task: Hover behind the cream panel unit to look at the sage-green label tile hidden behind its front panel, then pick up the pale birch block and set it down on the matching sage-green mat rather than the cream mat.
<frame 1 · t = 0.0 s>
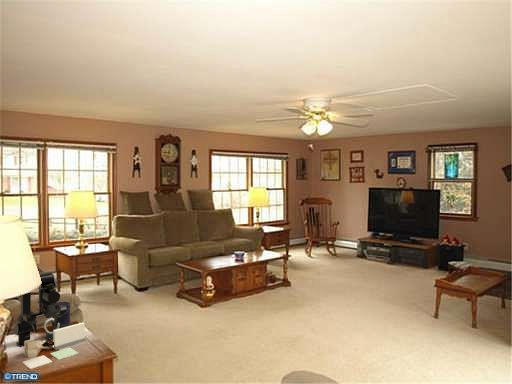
hand: (45, 330, 204), 15 cm above the table, tool pointing down, fingers open, 9 cm apart
sage mat: (64, 353, 211), on the table
watch: (51, 338, 231), on the table
cream mat: (37, 362, 202), on the table
panel unit: (66, 342, 226), on the table
storage jar: (61, 329, 244), on the table
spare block: (30, 355, 210), on the table
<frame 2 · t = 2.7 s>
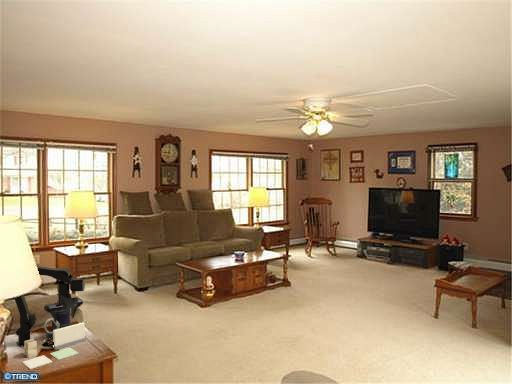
hand: (64, 320, 227), 12 cm above the table, tool pointing down, fingers open, 9 cm apart
nothing on the table moved.
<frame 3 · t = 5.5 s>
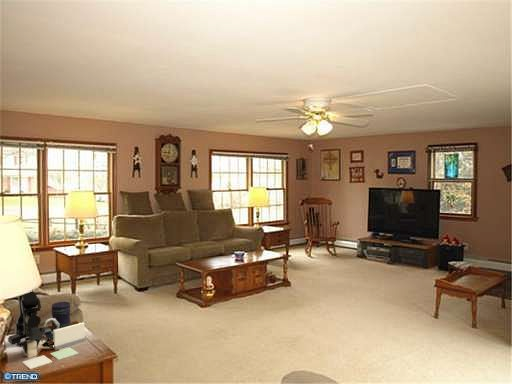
hand: (30, 351, 210), 2 cm above the table, tool pointing down, fingers closed on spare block, 4 cm apart
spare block: (30, 354, 210), on the table, touching gripper
everything else where it was.
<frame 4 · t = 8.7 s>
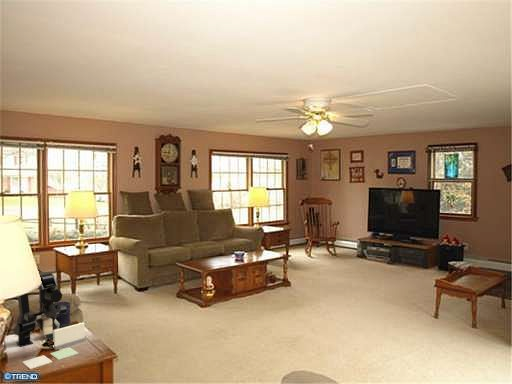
hand: (46, 329, 210), 13 cm above the table, tool pointing down, fingers closed on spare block, 4 cm apart
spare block: (46, 332, 210), point 11 cm above the table, touching gripper
everything else where it was.
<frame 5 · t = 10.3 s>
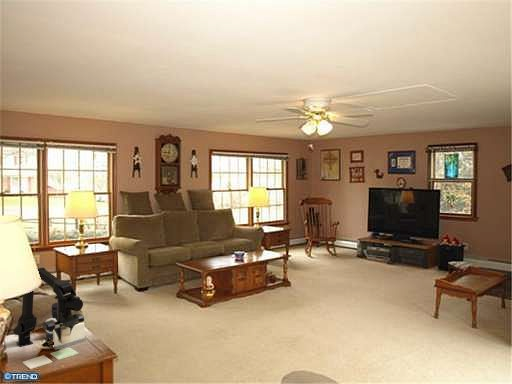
hand: (64, 338, 211), 8 cm above the table, tool pointing down, fingers closed on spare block, 4 cm apart
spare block: (64, 341, 211), point 6 cm above the table, touching gripper
everything else where it was.
when the fingers open (3 cm above the table, at t = 11.9 s): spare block drops 1 cm, resting on sage mat.
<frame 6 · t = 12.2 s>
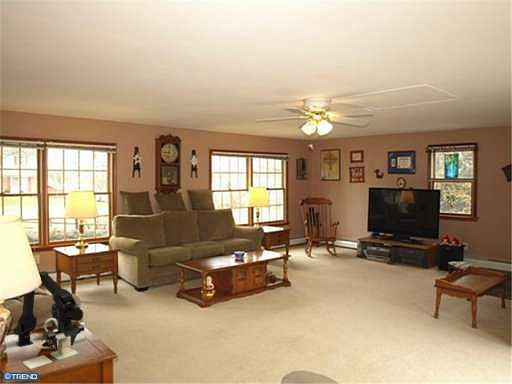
hand: (64, 348, 211), 3 cm above the table, tool pointing down, fingers open, 7 cm apart
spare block: (64, 353, 211), resting on sage mat
everything else where it was.
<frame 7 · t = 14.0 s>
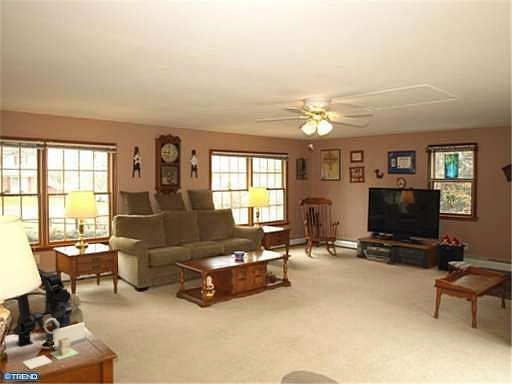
hand: (51, 329, 214), 11 cm above the table, tool pointing down, fingers open, 9 cm apart
nothing on the table moved.
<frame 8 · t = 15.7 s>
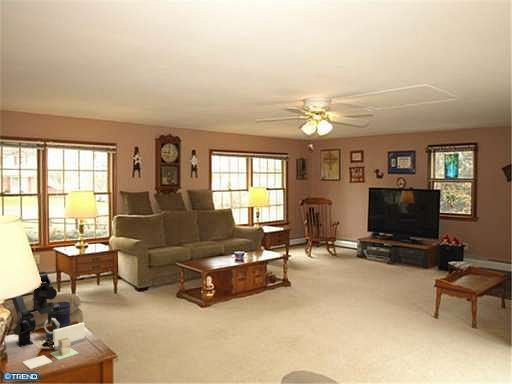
hand: (39, 326, 216), 12 cm above the table, tool pointing down, fingers open, 9 cm apart
nothing on the table moved.
at the end: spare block inside the target area on the sage mat (0.0 cm from its centre), point 0.4 cm above the sage mat's base; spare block tilted 0°; the gripper is holding nothing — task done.
